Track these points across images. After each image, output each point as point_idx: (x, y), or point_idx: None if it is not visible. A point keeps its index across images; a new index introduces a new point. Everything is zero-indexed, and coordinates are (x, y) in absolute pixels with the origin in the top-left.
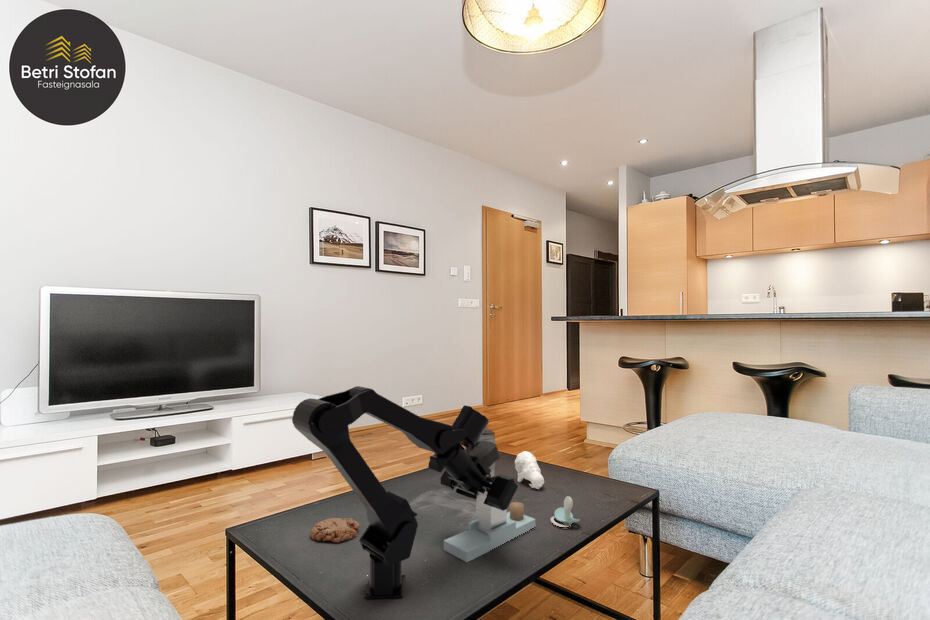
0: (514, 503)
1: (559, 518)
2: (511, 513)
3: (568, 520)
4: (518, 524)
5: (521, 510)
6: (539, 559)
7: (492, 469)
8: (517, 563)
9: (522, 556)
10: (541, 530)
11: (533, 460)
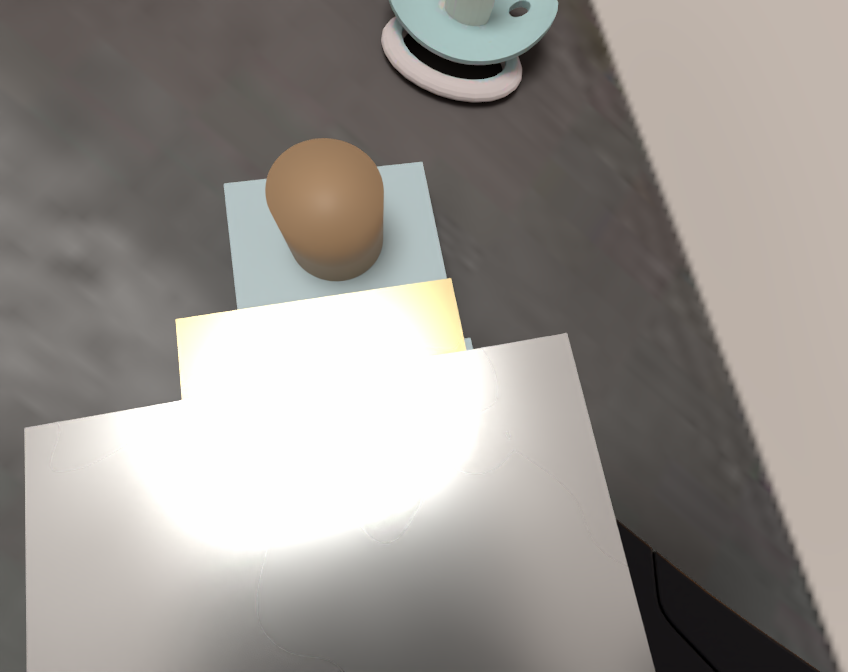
0: (291, 185)
1: (442, 38)
2: (330, 265)
3: (484, 23)
4: None
5: (383, 204)
6: (694, 406)
7: None
8: (680, 533)
9: (633, 461)
10: (456, 186)
11: None
